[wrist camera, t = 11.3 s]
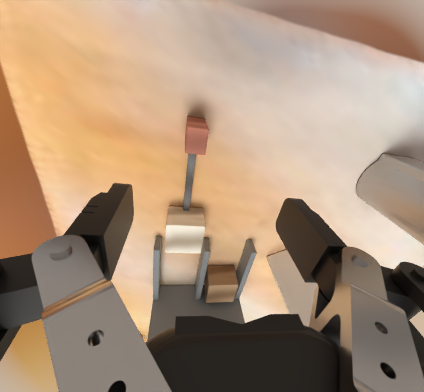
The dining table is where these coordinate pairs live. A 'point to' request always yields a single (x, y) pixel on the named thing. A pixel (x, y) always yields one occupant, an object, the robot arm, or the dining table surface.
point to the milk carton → (292, 285)
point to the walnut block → (220, 283)
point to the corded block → (188, 198)
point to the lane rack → (194, 292)
